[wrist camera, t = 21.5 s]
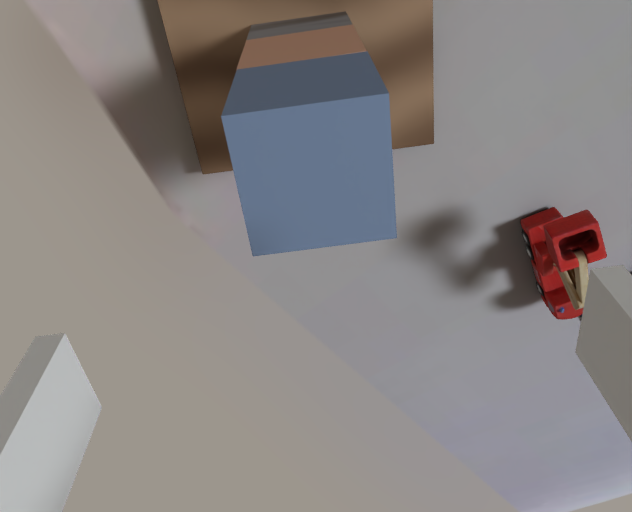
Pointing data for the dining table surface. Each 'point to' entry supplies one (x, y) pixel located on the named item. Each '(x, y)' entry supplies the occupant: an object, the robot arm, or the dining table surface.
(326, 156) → the slate blue brick
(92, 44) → the dining table surface
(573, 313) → the toy fire truck
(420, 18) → the board
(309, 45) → the terracotta brick
